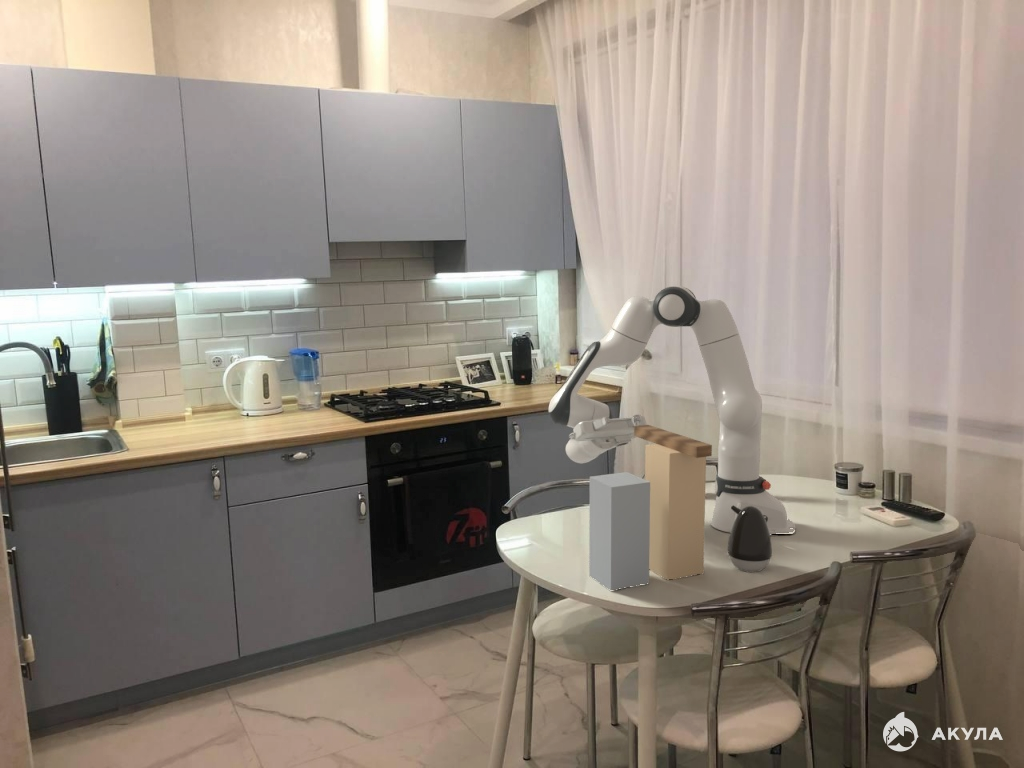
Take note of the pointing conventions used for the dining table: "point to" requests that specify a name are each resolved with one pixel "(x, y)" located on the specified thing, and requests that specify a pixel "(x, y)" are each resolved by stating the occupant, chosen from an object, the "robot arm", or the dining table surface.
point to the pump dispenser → (749, 540)
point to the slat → (673, 441)
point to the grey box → (619, 530)
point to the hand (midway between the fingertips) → (623, 418)
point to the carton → (675, 511)
